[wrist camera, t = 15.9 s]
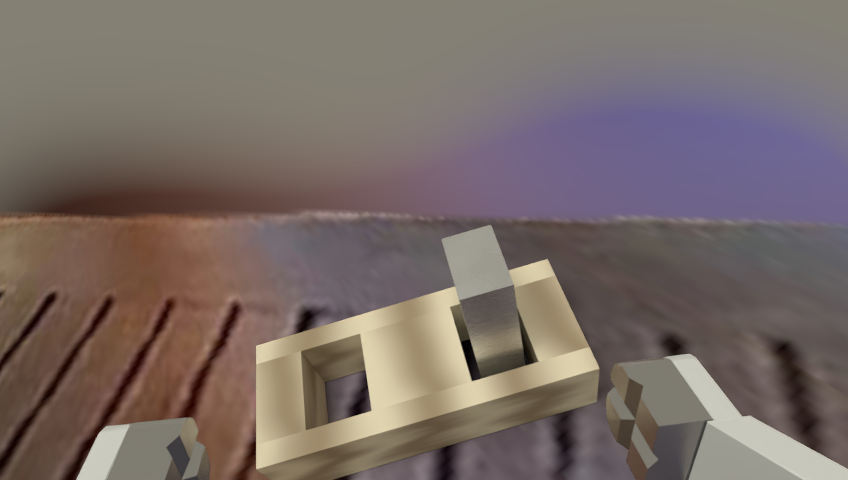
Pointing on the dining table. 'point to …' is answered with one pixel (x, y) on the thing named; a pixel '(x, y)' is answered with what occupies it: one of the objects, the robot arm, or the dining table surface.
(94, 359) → the dining table surface
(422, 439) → the hollow cinder block
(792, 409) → the dining table surface
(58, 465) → the dining table surface
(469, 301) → the grey square pillar
